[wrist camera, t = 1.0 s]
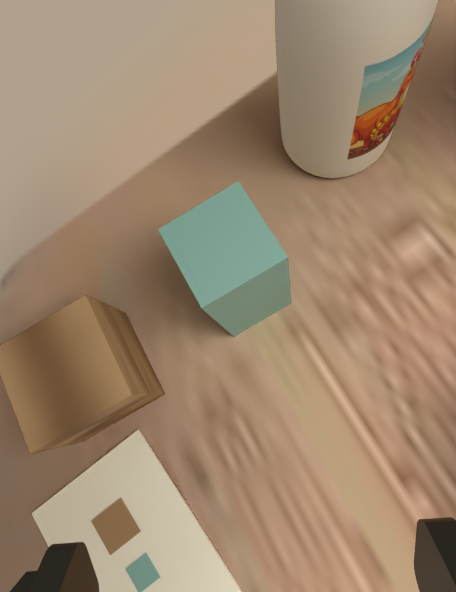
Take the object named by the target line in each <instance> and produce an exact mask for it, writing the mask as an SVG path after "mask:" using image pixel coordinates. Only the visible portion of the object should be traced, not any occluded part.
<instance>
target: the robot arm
mask: <svg viewBox="0 0 456 592" xmlns="http://www.w3.org/2000/svg"><path fill="white" fill-rule="evenodd" d="M414 569H415V575H416V580H417V584H418V587H419V590H420V592H456V520H455V519H453V518H451V517H448V518H434V519H420V520H418V522H417V531H416V543H415V555H414ZM10 592H99V583H98V579H97V576H96V573H95V570H94V567H93V564H92V562H91V559H90V556H89V553H88V550H87V547H86V544H85V543H84V542H74V543H60V544H52V545H51V546H50V547H49V548H48V549H47V551H46V553H45V555H44V557H43V559H42V562H41V564H40V566H39V568H38V571H31V572H26V573H25V574H24V575H23V577H22V578H21V579H20V580H19V581H18V583H17V584H16V585H15V586H14V587H13V589H12V590H11V591H10Z"/></svg>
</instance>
